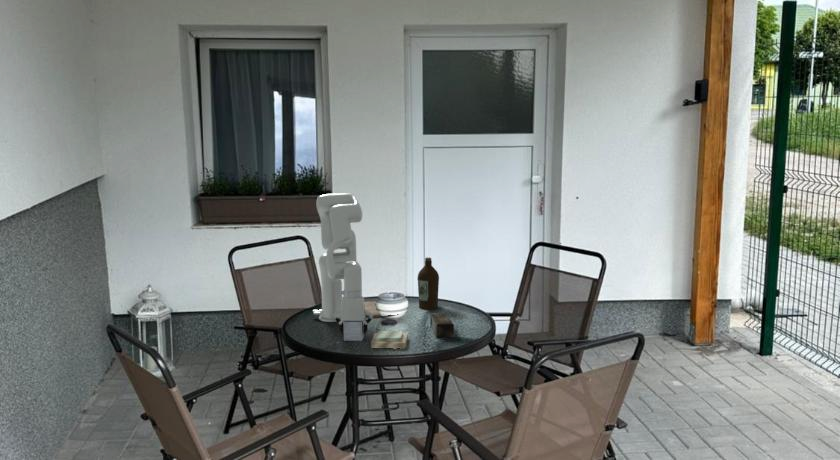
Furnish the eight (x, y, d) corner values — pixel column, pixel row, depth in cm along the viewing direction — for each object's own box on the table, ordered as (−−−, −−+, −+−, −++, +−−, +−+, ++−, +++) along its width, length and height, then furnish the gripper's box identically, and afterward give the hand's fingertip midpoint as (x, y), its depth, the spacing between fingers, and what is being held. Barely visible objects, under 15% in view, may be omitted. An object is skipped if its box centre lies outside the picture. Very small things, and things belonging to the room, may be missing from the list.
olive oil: (428, 303, 374) (427, 255, 370) (443, 307, 367) (443, 257, 363) (413, 307, 367) (413, 258, 363) (428, 311, 359) (428, 260, 356)
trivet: (339, 310, 363) (339, 306, 363) (381, 302, 378) (381, 299, 377) (366, 321, 343) (366, 317, 343) (410, 312, 358) (410, 308, 358)
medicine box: (363, 338, 315) (363, 318, 314) (361, 341, 311) (361, 321, 309) (345, 337, 316) (345, 318, 315) (343, 340, 311) (343, 321, 310)
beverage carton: (447, 325, 335) (447, 311, 334) (454, 338, 316) (454, 323, 315) (429, 326, 334) (429, 312, 333) (436, 338, 315) (436, 323, 314)
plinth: (371, 348, 301) (371, 339, 300) (375, 338, 315) (375, 329, 314) (405, 349, 300) (405, 339, 299) (407, 338, 314) (407, 329, 313)
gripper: (331, 295, 307) (332, 335, 310) (372, 296, 306) (372, 335, 309) (334, 291, 314) (335, 330, 317) (374, 291, 313) (374, 330, 316)
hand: (353, 332), depth 313 cm, fingers open, 9 cm apart
